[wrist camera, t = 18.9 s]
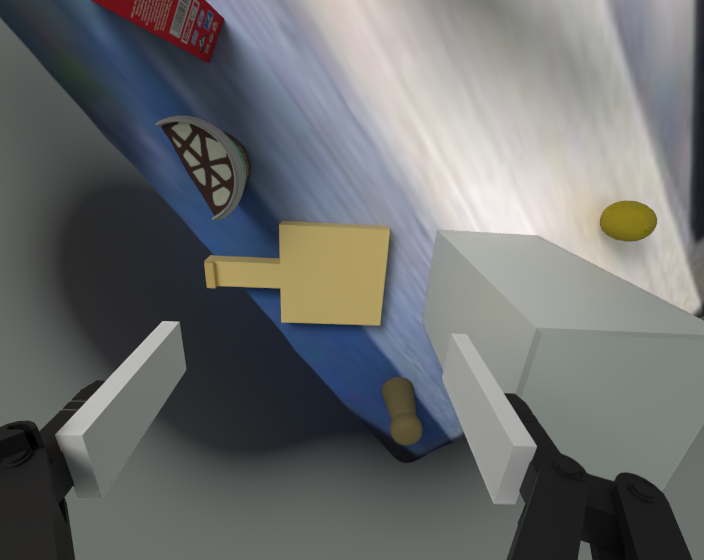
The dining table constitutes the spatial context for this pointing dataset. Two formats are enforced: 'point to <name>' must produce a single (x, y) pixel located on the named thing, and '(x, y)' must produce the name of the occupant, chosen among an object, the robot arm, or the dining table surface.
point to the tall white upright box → (574, 348)
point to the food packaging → (174, 21)
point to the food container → (210, 161)
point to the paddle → (316, 272)
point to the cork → (402, 411)
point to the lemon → (628, 221)
